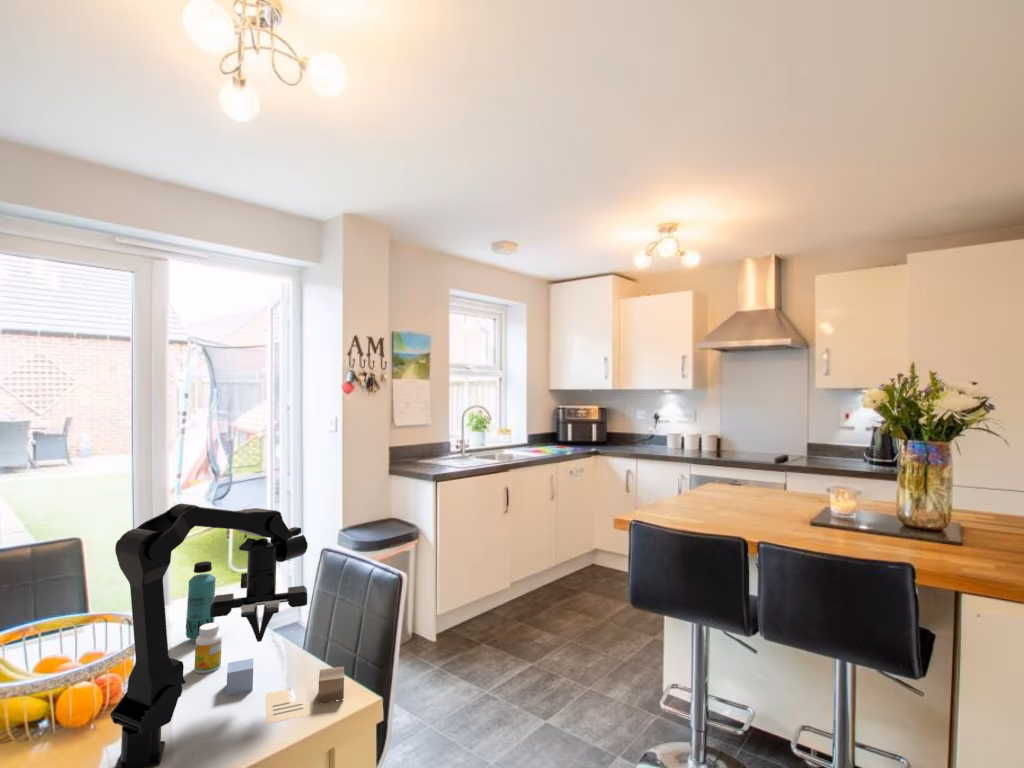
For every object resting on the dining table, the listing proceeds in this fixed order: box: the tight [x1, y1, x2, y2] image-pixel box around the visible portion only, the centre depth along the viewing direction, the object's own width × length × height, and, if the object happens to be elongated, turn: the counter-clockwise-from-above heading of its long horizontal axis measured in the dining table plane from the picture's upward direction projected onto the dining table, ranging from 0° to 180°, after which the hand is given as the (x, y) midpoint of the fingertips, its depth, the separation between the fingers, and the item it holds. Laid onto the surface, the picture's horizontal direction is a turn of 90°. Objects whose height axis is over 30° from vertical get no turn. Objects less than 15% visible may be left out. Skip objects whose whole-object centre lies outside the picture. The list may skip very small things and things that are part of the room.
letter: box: [265, 688, 311, 724], centre depth 111 cm, size 12×8×1 cm, turn 26°
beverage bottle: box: [185, 560, 216, 640], centre depth 141 cm, size 6×7×20 cm
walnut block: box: [317, 666, 345, 705], centre depth 114 cm, size 5×5×5 cm
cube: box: [226, 658, 254, 696], centre depth 117 cm, size 5×5×5 cm
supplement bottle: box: [194, 622, 223, 674], centre depth 126 cm, size 5×5×10 cm
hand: (259, 640), depth 116 cm, fingers closed
